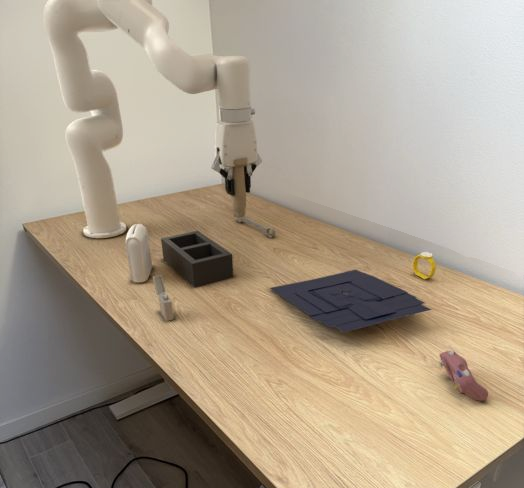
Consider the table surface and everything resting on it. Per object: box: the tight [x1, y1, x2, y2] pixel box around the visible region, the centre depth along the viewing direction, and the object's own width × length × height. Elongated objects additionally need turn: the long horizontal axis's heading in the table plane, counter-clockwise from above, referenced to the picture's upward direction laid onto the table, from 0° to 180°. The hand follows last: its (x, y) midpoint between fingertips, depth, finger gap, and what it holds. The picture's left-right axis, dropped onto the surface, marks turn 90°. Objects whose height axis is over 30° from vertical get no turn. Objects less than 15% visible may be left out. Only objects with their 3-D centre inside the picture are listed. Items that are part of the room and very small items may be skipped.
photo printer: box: [125, 223, 153, 284], centre depth 125 cm, size 10×4×12 cm, turn 2°
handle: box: [230, 158, 247, 218], centre depth 131 cm, size 5×6×15 cm
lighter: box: [152, 274, 175, 322], centre depth 109 cm, size 7×2×8 cm, turn 26°
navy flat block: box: [269, 269, 432, 333], centre depth 112 cm, size 24×30×4 cm
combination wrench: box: [235, 215, 276, 238], centre depth 154 cm, size 4×1×20 cm
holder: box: [160, 230, 234, 288], centre depth 130 cm, size 20×11×6 cm, turn 31°
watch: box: [412, 251, 437, 280], centre depth 123 cm, size 6×3×6 cm, turn 33°
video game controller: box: [438, 349, 489, 402], centre depth 86 cm, size 10×5×7 cm, turn 5°
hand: (238, 192), depth 132 cm, fingers closed on handle, 3 cm apart
